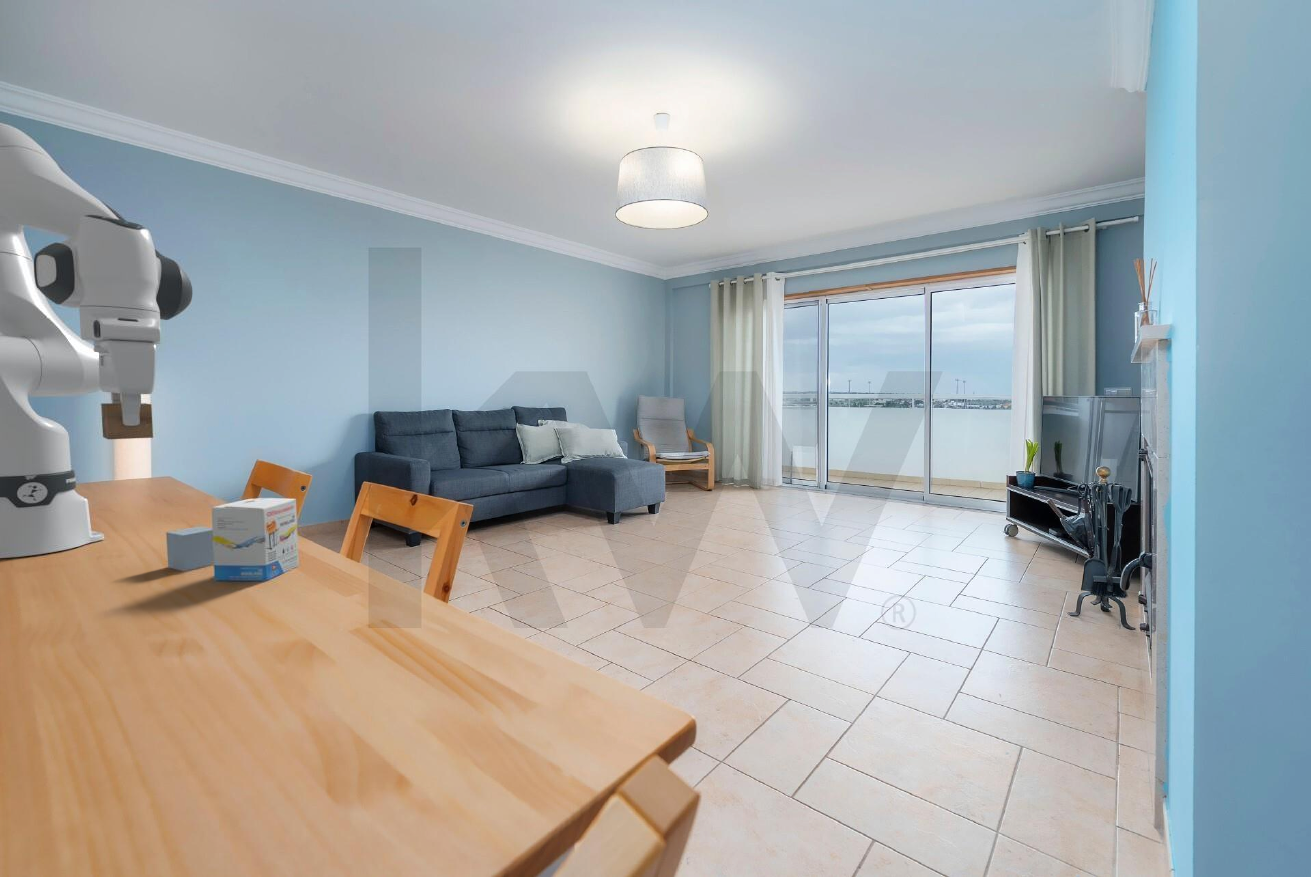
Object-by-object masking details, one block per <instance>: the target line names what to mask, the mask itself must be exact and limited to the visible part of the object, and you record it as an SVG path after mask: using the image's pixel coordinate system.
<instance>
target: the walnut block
mask: <svg viewBox="0 0 1311 877" xmlns="http://www.w3.org/2000/svg"><path fill="white" fill-rule="evenodd" d="M152 407H153V405H152V403H146V402H145V403H144V402H141V406H140V412H139V420H140V423H139V424H138V425H134V426H126V425H124V424H123V423H122V417H121V413H122V407H121V403H112V402H110V403H108V402H107V403H100V408H101V425H102V427H101V428H102V437H103V438H104V439H106V440H125V439H126V440H127V439H129V440H130V439H153V438H154V430H153V427H154V426H153V410H152V409H153V408H152Z"/></svg>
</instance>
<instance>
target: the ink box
mask: <svg viewBox="0 0 1311 877" xmlns="http://www.w3.org/2000/svg"><path fill="white" fill-rule="evenodd" d="M297 514H298V513H297V499H296V498H283V497H282V498H280V497H277V498H276V497H257V498H247V499H241V500H238V501H233V502H229V503H228V502H227V503H225V504H224V503H223V504H220V505H216V506H212V508H211V522H212V523H211V524H212V527H211V528H213V552H214V565H213V571H214V581H216V582H218V581H222V582H223V581H224V582H225V581H227V582H228V581H232V582H233V581H235V582H236V581H239V582H241V581H243V582H268V581H270V580H272V579H274V578H276V577H278V576H280V575H283V574H285V573H286V572H289V571H291V570H293V569H296V568H297V567H299V566H300V564H299V562H300V560H299V541H298V517H297Z"/></svg>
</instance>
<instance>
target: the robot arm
mask: <svg viewBox="0 0 1311 877" xmlns="http://www.w3.org/2000/svg"><path fill="white" fill-rule="evenodd" d="M24 227H26V228H30V229H32V230H37V231H42V232H44V233H49V234H53V235H57V236H61V237H65V238H67V239H65V240H64V241H62V242H54V243H51V244H48V245H46V246H44V247H43V248H42V249H40V250H39V251H37V252H36V253H34V257H33V256H32V253H31V251H30V247H29V245H28V243H27V241H26V238H25V234H24ZM154 244H155V243H154V240H153V237H152V235H151V232H150V230H148V229H147V228H146V227H145V226H143V225H141V224H138V223H136V222H131V221H128V220H126V219H125V218H124V217H123V216H121V214H119V213H118V212H117V210H114V208H112V207H111V206H109V205H107V204H106V203H105V202H103V201H102V200H99V199H98V198H97V197H96V196H94V195H92V194H91V193H89V192H88V191H87V190H86V189H84V188H83V187H81V186H80V185H79V184H78V183H76V181H74V180H73V179H72V178H70V176H68V175H67V173H66V172H65V171H64V169H63V168H62V167H61V166H60V164H57V163H56V161H55V160H54V159H53V158H52V157H51V156H50V154H49V153H48V152H47V151H46V150H45V149H44V148H43V147H42V146H41V145H40V144H39V143H37V142H36V141H35V140H34V139H33V138H31V137H30V136H29V135H27V134H26V133H25V132H24V131H22V130H20V129H19V128H16V127H15V126H12V125H9V124H6V123H3V122H0V559H6V558H19V557H26V556H27V557H28V556H35V555H42V554H48V553H55V552H59V551H65V550H66V551H67V550H70V549H73V548H76V547H80V546H81V547H82V546H84V545H87V544H90V543H94V542H98V541H103V540H105V536H104V533H101V532H98V531H94V530H92V527H91V519H90V510H89V501H88V498H85V497H84V496H82V495H80V494H79V493H78V492H77V491H76V490H75V489H76V488H77V483H76V481H77V476H76V475H75V474H76V473H75V470H74V469H72V461H71V448H70V447H71V445H70V435H69V433H68V431H67V429H66V428H65V427H64V426H63V425H61V424H60V423H58V422H56V421H54V420H52V419H50V418H47V417H43V416H40V415H39V414H37V412H35V410H34V409H33V408H32V406H31V404H30V402H29V398H32V397H33V398H42V397H43V398H45V397H47V398H49V397H51V398H55V397H57V398H61V397H63V398H65V397H68V398H69V397H75V396H80V395H87V394H92V393H97V392H99V391H102V392H105V393H110V400H111V403H121V407H122V413H121V417H122V423H123V424H124V425H126V426H134V425H138V424H139V423H140V420H139V412H140V406H141V403H142V395H151V394H152V393H153V391H154V388H155V383H156V371H157V345H161V344H162V324H161V320H162V321H168V320H171V319H173V318H175V317H177V316H178V315H180V314H181V313H182V312H184V311H185V310H186V309H187V308H188V307H189V306H190V304H191V302H192V299H193V286H192V282H191V280H190V278H189V276H188V274H187V273H186V272H185V270H184V269H183V267H181V266H180V264H178V263H177V261H174V259H171V258H168V257H166V256H165V255H164V254H161V253H160V252H159V251H158V250H157V249H156V248H155V245H154ZM47 299H48V300H49V301H51V302H52V303H54V304H55V305H60V306H63V307H67V308H71V309H78V310H79V311H78V312H79V323H80V324H79V326H80V327H79V328H80V336H79V335H78V334H76V333H75V332H74V331H72V329H70V328H69V327H68V326H67V325H66V324H65V323H64V321H62V320H61V318H59V317H58V315H57V314H56V313H55V312H54V310H53V309H52V307H51V305H50V304H49V302H48V300H47ZM90 342H92V343H93V344H92V343H90Z"/></svg>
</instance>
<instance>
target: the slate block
mask: <svg viewBox="0 0 1311 877" xmlns="http://www.w3.org/2000/svg"><path fill="white" fill-rule="evenodd" d="M166 550H167V551H166V552H167V568H170V569H174V570H178V571H181V572H187V571H192V570H197V569H201V568H205V567H209V566H214V552H213V527H207V526H201V525H198V526H193V527H188V528H181V529H177V530H171V531H166Z"/></svg>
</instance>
